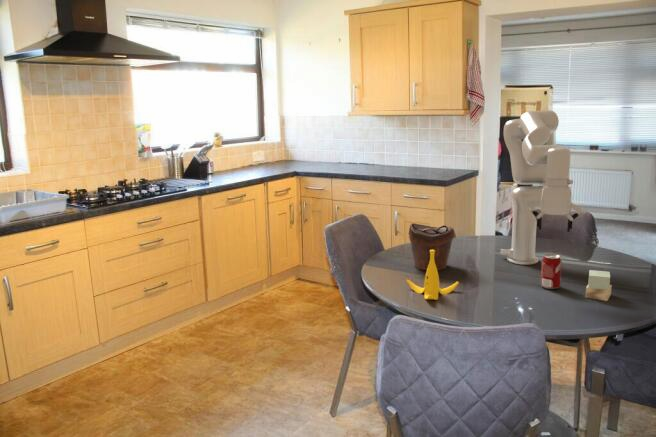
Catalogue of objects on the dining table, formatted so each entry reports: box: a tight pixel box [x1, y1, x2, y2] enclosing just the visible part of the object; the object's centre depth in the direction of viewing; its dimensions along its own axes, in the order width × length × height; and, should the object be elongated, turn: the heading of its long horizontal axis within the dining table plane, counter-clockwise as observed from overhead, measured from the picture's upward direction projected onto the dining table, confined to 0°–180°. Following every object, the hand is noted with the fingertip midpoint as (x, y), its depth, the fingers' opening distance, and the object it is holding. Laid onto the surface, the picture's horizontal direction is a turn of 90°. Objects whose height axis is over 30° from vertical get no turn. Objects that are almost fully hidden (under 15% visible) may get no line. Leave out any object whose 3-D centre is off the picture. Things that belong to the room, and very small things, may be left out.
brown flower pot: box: [408, 222, 457, 271], centre depth 242 cm, size 18×20×18 cm
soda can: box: [540, 253, 563, 290], centre depth 215 cm, size 7×7×12 cm
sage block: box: [588, 269, 611, 290], centre depth 205 cm, size 6×6×4 cm
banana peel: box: [406, 250, 460, 301], centre depth 211 cm, size 17×19×17 cm
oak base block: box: [584, 283, 613, 302], centre depth 206 cm, size 7×7×4 cm
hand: (554, 229), depth 211 cm, fingers open, 9 cm apart
